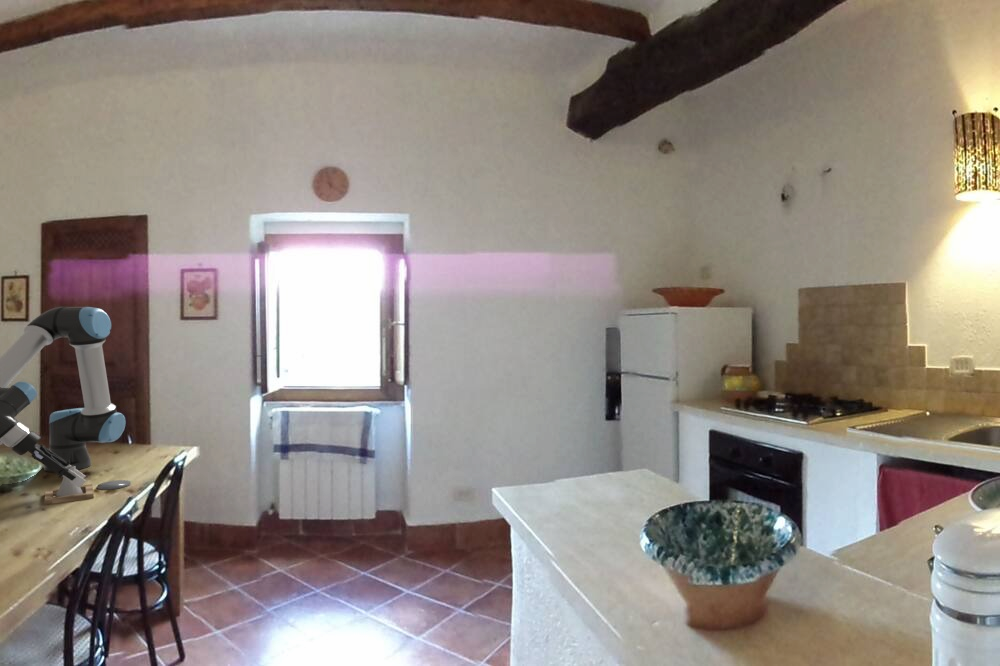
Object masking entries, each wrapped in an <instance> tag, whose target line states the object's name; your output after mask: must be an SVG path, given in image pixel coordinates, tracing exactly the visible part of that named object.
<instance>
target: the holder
mask: <svg viewBox="0 0 1000 666" xmlns="http://www.w3.org/2000/svg"><path fill="white" fill-rule="evenodd" d="M80 488H81V490H82V492H83V494H75V495H68V496H60V497H56V494H57V492H58V490H59V488H53V489H51V488H50V489H46V490H45V493H44V494H45V495H44V506H46V505H52V504H53V505H54V504H60V503H67V502H68V503H69V502H75V501H76V502H77V501H82V500H83V501H84V500H89V499H90V500H91V499H94V497H95V496H94V495H95V494H94V487H93V484H85V485H84V484H83V485H82V486H81V487H80ZM84 492H85V493H84Z"/></svg>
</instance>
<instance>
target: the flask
mask: <svg viewBox="0 0 1000 666" xmlns="http://www.w3.org/2000/svg"><path fill="white" fill-rule="evenodd" d="M66 468H68V470H69V469H70V470H71V471H73V472H74V473H75V471H74V469H75V468H76V466H67V467H66ZM58 489H59V490H58V492H57V494H56V495H55V497H60V496H68V495H75V494H83V493H84V491H82V490H81V488H79V487H77V486H76V485H75V484H73V483H72V482H70V481H69V480H67V479H66V478H64V477H63V476H62V481H61V483H60V486H59V487H58Z"/></svg>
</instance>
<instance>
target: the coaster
mask: <svg viewBox="0 0 1000 666" xmlns="http://www.w3.org/2000/svg"><path fill="white" fill-rule="evenodd" d="M131 485H132V484H131V481H130V480H123V479H119V480H109V481H105V482H102V483H98V484H97V486H96V488H97V490H101V491H107V490H109V491H111V490H118V489H123V488H127V487H129V486H131Z"/></svg>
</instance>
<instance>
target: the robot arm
mask: <svg viewBox="0 0 1000 666" xmlns="http://www.w3.org/2000/svg"><path fill="white" fill-rule="evenodd" d="M110 330H112V320H111V319H110V316H109V315H108V314H107V312H106V311H104V310H103V309H102V308H99V307H98V308H97V307H92V306H58V307H54V308H51V309H48V310H46V311H44V312H42V313H41V314H39V315H38V316H36V317H35V318H34V319H33V320H31V322H29V323H28V324H27V326H25V327H24V329H23V334H22V335H21V336H20V337H19V338H18V339H17V340H16V341H15V342H14V343H13V344H12V345H11V346H10V347H9V348H8V349H7V350H6V351H5V352H4V353H3V354H2V356H0V446H1V445H5V446H6V447H8V448H11V451H14V453H16V455H19V456H23V455H25V454H26V453H30V454H31V457H32V458H33V459H34V460H36V461H37V462H39V463H41V464H42V465H43V471H44V472H50V473H55V474H56V475H58V476H57V477H58V478H60V479H61V478H63V477H64V478H66V479H67V480H69V481H70V482H72V483H73V484H75V485H76V486H77V487H79V488H80V487H81V486H83V485H84V484H85V483H86V482H87V480H86V479H85V478H86V476H87V475H85V474H83V473H82V472H81V471H79V470H83V469H87V468H88V467H90V466H92V459H91V456H90V453H89V451H88V449H87V443H101V444H105V443H112V442H115V441H117V440H119V438H121V437H122V434H123V433H124V431H125V427H126V417H125V415H124V414H123V413H121V412H118V411H117V405H115V404H114V403H112V401H111V395H110V388H109V382H108V377H107V376H108V374H107V370H106V364H105V363H106V362H105V357H104V356H105V355H104V349H103V344H104V343H105V342H106V341H107V340H106V338H107V337H108V336H109V335H110V333H111V331H110ZM60 338H68V345H69V346H71V347H73V348H74V351H75V357H76V363H77V368H78V374H79V381H80V386H81V392H82V399H83V404H84V405H83V406H84V407H78V408H77V407H76V408H69V409H63V410H57V411H54V412H51V413H50V415H49V422H48V433H49V436H48V437H49V440H48V441H49V448H47V447H46V446H45V445H44V444H39V442H40V440H41V438H42V436H40V435H39V434H38V433H36V432H35V431H34V430H33V431H32V430H30V428H29V427H28V426H26V425H25V424H23V423H22V422H21V421H19V420H17V419H16V418H15V417H17V416H18V415H19V413H21V412H22V411H23V410H24V409H25V408H27V407H28V406H29V405H31V403H32V402H33V401H34V399H35V398H37V396H38V391H37V390H36V387H34V386H33V384H31V383H28V382H26V381H17V382H15V383H14V384H12V385H11V386H10V387H8V386H9V385H10V384H11V383H12V382H14V380H15V379H16V378H17V377H18V376H19V375H20V374H21V372H22V371H23V370H24V369H25V368H26V367H27V366H28V365H29V363H31V362H32V360H34V358H35V357H36V356H37V355H38V354H39V353H40V352H41V350H42V349H43V348H45V346H49V345H52V343H53V342H54V341H55V340H57V339H60ZM67 466H76V468H75V469H74V471H75V473H74V472H73V471H71V470H70V469H69V470H68V468H66V467H67Z"/></svg>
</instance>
